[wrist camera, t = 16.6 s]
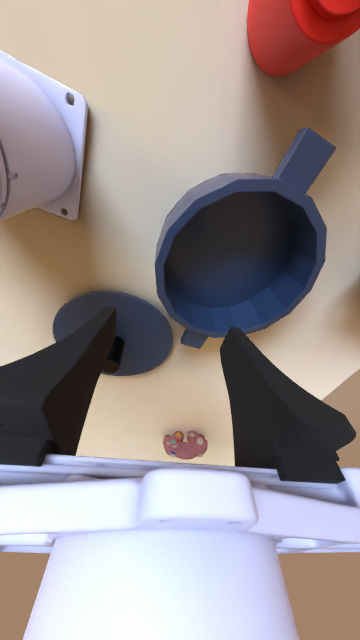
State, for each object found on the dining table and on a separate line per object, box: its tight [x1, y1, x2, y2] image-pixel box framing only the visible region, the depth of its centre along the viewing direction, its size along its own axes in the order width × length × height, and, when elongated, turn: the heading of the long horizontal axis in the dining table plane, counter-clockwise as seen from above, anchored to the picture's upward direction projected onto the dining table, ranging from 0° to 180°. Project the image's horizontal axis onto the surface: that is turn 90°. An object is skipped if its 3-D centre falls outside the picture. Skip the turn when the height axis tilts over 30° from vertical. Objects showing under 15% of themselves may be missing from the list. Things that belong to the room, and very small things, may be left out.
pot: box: [155, 128, 336, 349], centre depth 19 cm, size 14×19×5 cm
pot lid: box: [53, 291, 173, 376], centre depth 25 cm, size 15×15×5 cm
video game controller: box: [163, 431, 208, 459], centre depth 46 cm, size 10×5×7 cm, turn 84°
